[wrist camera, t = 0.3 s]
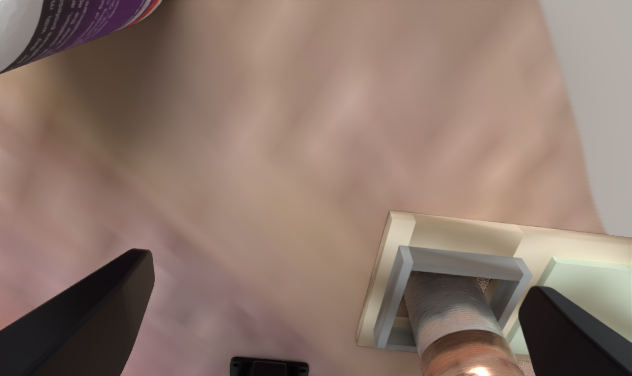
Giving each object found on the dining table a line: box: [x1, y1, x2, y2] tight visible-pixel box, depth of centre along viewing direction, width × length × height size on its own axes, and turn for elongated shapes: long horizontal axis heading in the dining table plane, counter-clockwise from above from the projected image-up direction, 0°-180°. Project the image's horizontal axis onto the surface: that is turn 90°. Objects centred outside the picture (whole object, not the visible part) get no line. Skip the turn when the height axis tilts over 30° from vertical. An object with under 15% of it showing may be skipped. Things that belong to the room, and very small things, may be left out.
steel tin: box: [403, 270, 525, 376], centre depth 24 cm, size 5×5×10 cm
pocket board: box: [356, 211, 632, 361], centre depth 28 cm, size 12×20×3 cm, turn 83°
